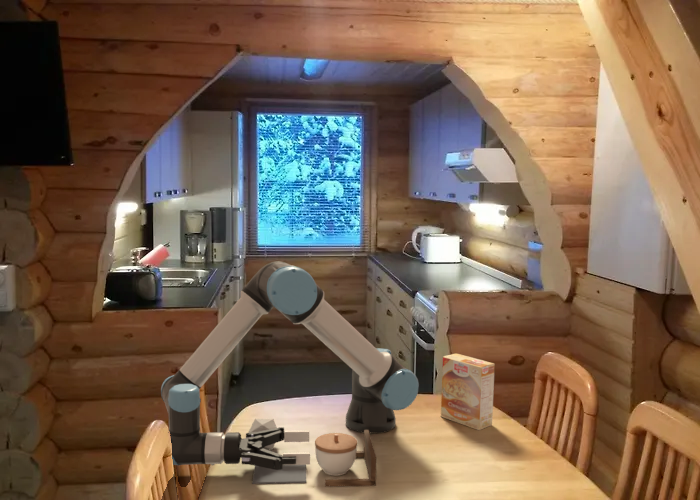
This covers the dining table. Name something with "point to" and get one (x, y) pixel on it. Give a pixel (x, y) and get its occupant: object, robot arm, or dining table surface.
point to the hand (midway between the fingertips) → (309, 446)
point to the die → (263, 428)
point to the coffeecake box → (467, 391)
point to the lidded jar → (335, 452)
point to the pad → (280, 474)
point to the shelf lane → (370, 465)
